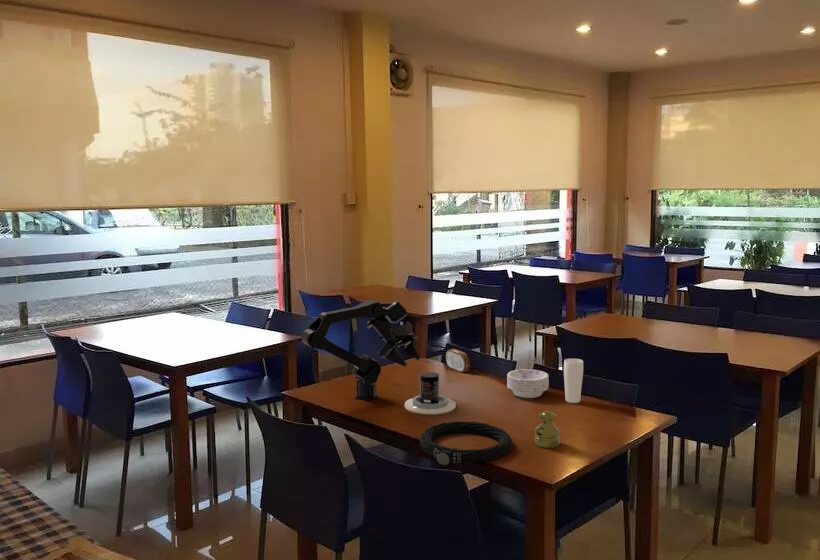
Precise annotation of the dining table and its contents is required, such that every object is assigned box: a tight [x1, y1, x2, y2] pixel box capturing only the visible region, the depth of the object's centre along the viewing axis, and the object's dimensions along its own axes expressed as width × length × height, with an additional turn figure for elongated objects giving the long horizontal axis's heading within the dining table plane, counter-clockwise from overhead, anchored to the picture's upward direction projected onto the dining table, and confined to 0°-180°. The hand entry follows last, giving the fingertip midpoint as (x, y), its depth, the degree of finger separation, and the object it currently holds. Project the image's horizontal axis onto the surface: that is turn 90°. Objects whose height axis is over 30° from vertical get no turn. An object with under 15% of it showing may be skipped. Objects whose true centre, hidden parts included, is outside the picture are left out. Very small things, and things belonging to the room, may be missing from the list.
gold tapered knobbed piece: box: [534, 410, 561, 449], centre depth 205 cm, size 7×7×10 cm
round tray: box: [404, 394, 457, 416], centre depth 243 cm, size 18×18×2 cm
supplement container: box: [419, 371, 440, 404], centre depth 242 cm, size 7×7×10 cm
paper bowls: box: [506, 368, 550, 399], centre depth 255 cm, size 15×15×8 cm
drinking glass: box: [563, 358, 584, 404], centre depth 246 cm, size 7×7×15 cm
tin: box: [445, 348, 471, 373], centre depth 292 cm, size 15×3×8 cm, turn 30°
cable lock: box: [418, 421, 513, 466], centre depth 204 cm, size 28×4×30 cm
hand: (412, 362), depth 249 cm, fingers open, 9 cm apart
